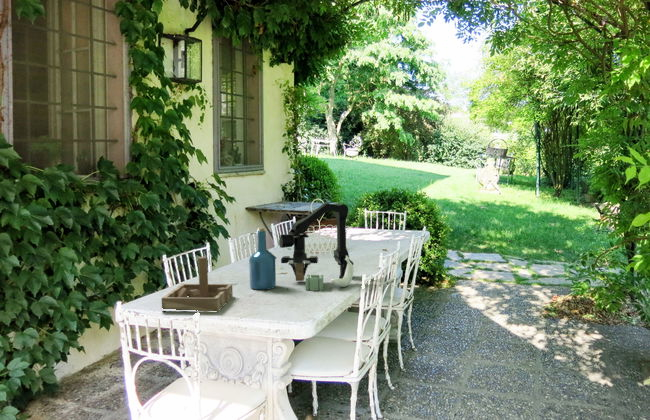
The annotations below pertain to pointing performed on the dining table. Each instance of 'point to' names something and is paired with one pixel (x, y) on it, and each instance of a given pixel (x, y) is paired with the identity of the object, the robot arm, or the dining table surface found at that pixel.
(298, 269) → the walnut peg
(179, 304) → the crate frame
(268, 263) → the wine bottle
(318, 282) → the green open frame
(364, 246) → the dining table surface
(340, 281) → the banana
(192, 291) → the wooden blocks
